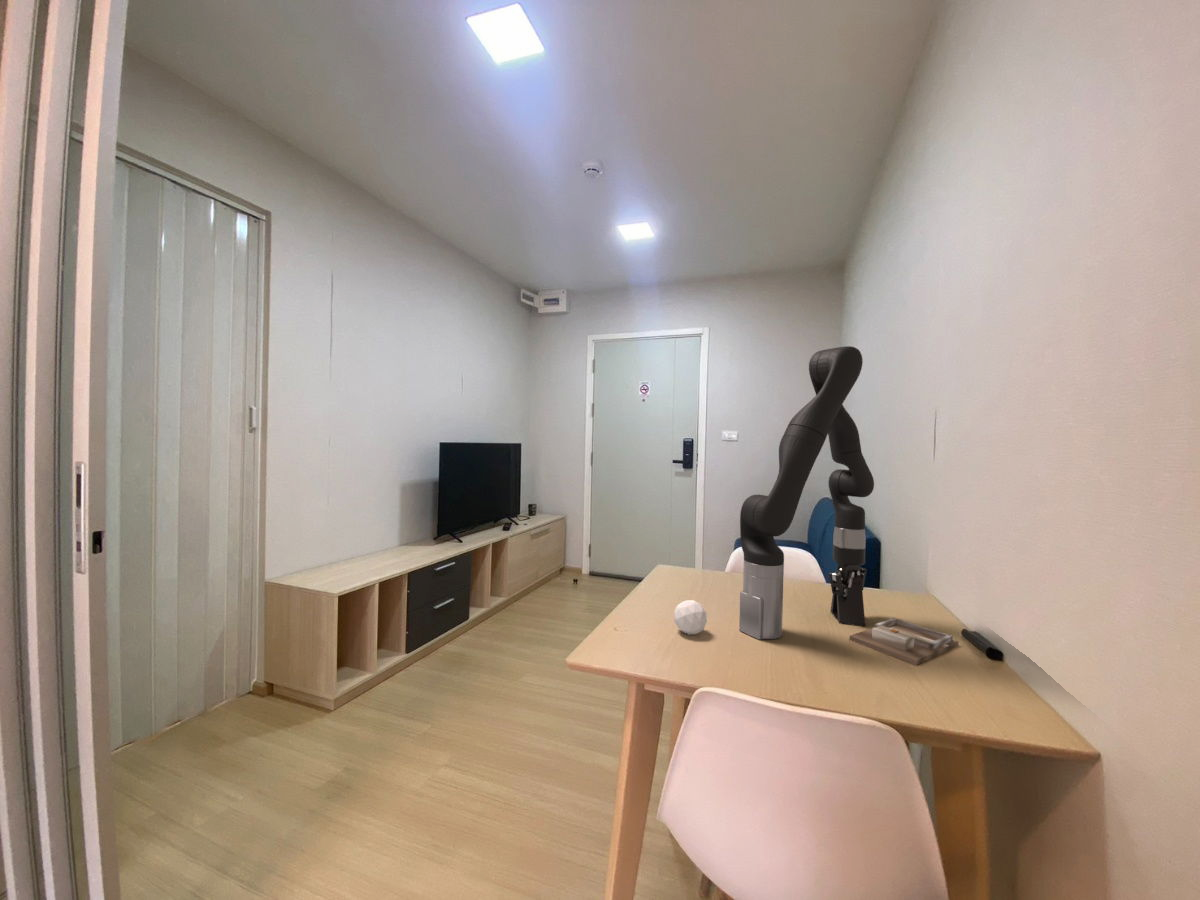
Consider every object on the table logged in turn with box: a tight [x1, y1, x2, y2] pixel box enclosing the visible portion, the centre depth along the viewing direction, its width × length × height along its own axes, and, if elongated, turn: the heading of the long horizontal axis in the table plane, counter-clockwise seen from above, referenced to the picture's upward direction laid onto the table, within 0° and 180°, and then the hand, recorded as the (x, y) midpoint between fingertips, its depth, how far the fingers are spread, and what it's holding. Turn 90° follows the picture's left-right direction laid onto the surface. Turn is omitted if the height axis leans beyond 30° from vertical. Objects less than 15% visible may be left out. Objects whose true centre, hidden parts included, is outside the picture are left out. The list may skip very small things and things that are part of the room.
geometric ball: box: [673, 599, 708, 635], centre depth 107 cm, size 8×8×8 cm
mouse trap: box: [849, 617, 959, 666], centre depth 104 cm, size 20×14×4 cm
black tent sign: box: [830, 575, 866, 627], centre depth 118 cm, size 9×6×12 cm, turn 166°
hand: (847, 608), depth 118 cm, fingers closed on black tent sign, 4 cm apart
